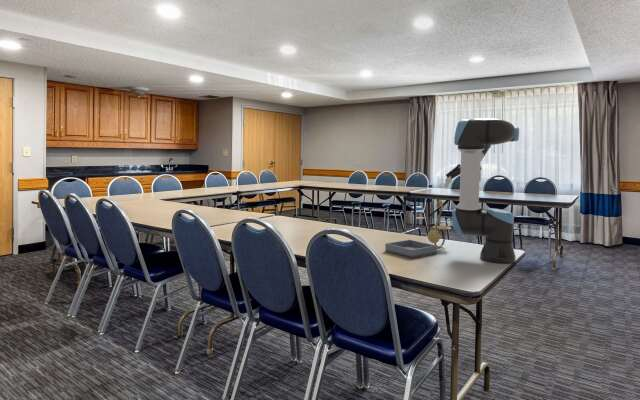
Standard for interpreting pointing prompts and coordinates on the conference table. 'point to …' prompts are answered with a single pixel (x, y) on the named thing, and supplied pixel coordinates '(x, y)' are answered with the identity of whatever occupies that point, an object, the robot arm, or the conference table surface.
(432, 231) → the wall sconce
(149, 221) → the conference table surface
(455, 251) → the conference table surface
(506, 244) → the robot arm
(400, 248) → the tray
